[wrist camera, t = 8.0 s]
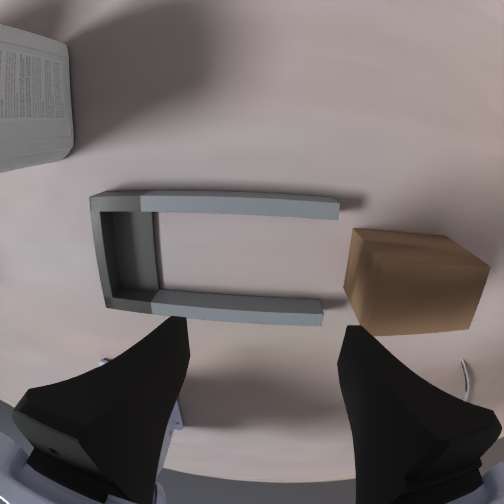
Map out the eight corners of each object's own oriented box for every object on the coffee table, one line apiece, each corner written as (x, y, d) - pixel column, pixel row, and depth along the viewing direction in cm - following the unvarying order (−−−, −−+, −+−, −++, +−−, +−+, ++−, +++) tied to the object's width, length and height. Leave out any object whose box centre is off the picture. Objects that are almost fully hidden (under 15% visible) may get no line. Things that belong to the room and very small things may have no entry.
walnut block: (431, 288, 20) (468, 329, 15) (343, 287, 20) (365, 336, 15) (445, 235, 19) (490, 267, 13) (352, 228, 19) (383, 262, 13)
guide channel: (317, 310, 21) (321, 326, 19) (117, 295, 22) (106, 307, 20) (332, 197, 18) (339, 203, 16) (103, 191, 19) (89, 197, 17)
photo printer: (36, 59, 15) (-74, 47, 3) (72, 37, 14) (-42, 4, 3) (45, 167, 18) (-78, 206, 7) (81, 152, 18) (-57, 183, 6)
